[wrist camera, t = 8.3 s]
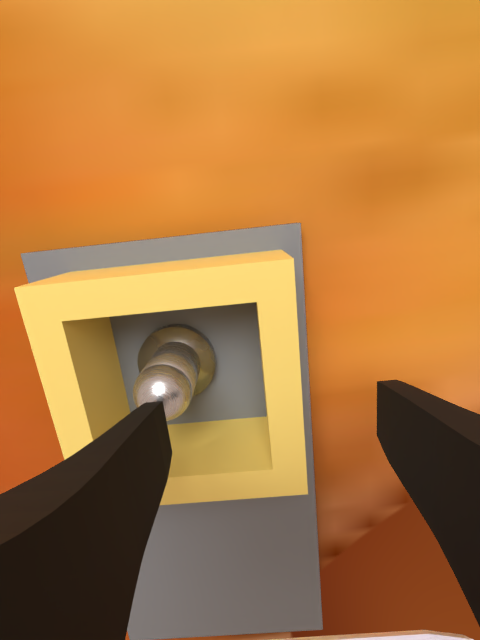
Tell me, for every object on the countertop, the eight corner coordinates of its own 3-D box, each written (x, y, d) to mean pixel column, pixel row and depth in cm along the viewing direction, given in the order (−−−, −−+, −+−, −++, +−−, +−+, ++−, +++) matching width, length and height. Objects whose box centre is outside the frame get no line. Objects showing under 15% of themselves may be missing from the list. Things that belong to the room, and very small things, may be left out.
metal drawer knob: (148, 396, 18) (117, 453, 13) (134, 327, 17) (95, 364, 12) (220, 390, 18) (212, 445, 13) (210, 320, 16) (198, 355, 12)
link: (113, 451, 19) (79, 511, 15) (69, 271, 16) (13, 287, 12) (294, 436, 18) (307, 494, 14) (281, 249, 15) (293, 258, 12)
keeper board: (134, 623, 24) (130, 640, 23) (33, 251, 17) (20, 253, 16) (319, 612, 23) (322, 629, 22) (297, 222, 16) (300, 223, 15)
